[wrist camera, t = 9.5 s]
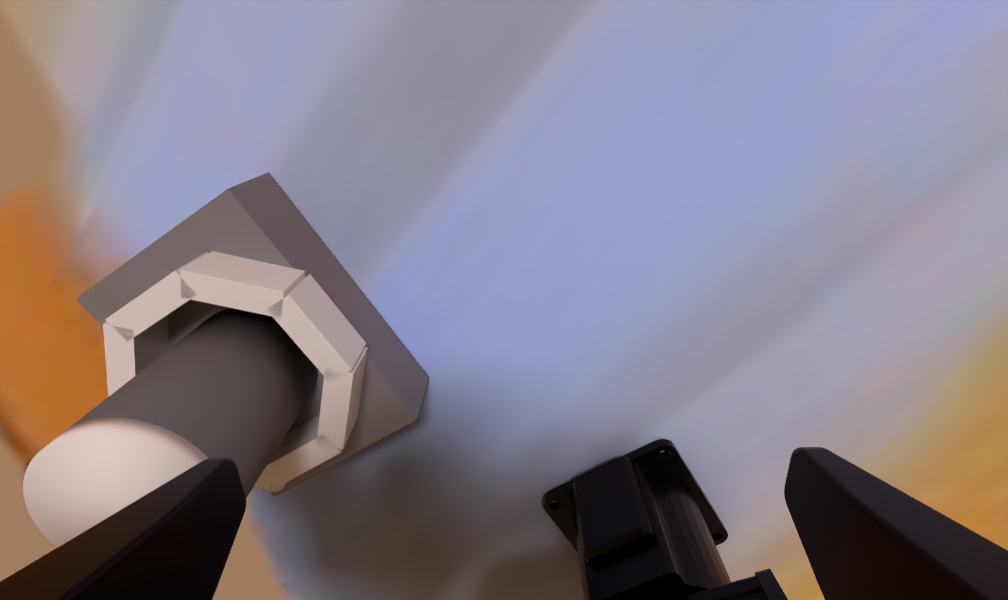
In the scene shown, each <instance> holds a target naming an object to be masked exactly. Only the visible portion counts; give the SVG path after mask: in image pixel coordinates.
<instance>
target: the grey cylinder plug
mask: <svg viewBox="0 0 1008 600" xmlns="http://www.w3.org/2000/svg"><path fill="white" fill-rule="evenodd" d="M317 376H318V369H317V367H316V366H315V365H314V364H313V363H312V362H311V360H310V359H309V358H308V357H307V356H306V355H305V354H304V352H303V351H302V350H301V349H300V348H299V347H298V345H297V344H296V343H295V342H294V341H293V340H292V339H291V337H290V336H289V335H288V334H287V333H286V332H285V331H284V329H283V328H282V327H281V326H280V325H279V324H278V322H277V321H276V320H275V319H274V318H273V317H272V316H268V315H263V314H258V313H253V312H248V311H244V310H239V309H234V308H229V309H225V310H222V311H220V312H217V313H215V314H214V315H212V316H210V317H209V318H208V319H206V320H205V321H204V322H203V323H201V324H200V325H199V326H198V327H196V328H195V329H194V330H193V331H191V332H190V333H189V334H188V335H186V336H185V337H184V338H182V339H181V340H180V341H179V342H177V343H176V344H175V345H174V346H172V347H171V348H170V349H169V350H167V351H166V352H165V353H164V354H162V355H161V356H160V357H158V358H157V359H156V360H155V361H153V362H152V363H151V364H150V365H148V366H147V367H146V368H145V369H143V370H142V371H141V372H139V373H138V374H137V375H136V376H134V377H133V378H132V379H131V380H129V381H128V382H127V383H126V384H124V385H123V386H122V387H121V388H119V389H118V390H117V391H115V392H114V393H113V394H112V395H110V396H109V397H108V398H107V399H105V400H104V401H103V402H102V403H100V404H99V405H98V406H97V407H95V408H94V409H93V410H91V411H90V412H89V413H88V414H86V415H85V416H84V417H83V418H81V419H80V420H79V421H78V422H76V423H75V424H74V425H72V426H71V427H70V428H69V429H67V430H66V431H65V432H64V433H62V434H61V435H60V436H59V437H57V438H56V439H55V440H54V441H52V442H51V443H50V444H48V445H47V446H46V447H45V448H43V449H42V450H41V451H40V452H38V453H37V455H36V456H35V457H34V458H33V459H32V460H31V462H30V464H29V466H28V468H27V470H26V473H25V476H24V483H23V492H24V499H25V503H26V507H27V509H28V511H29V514H30V516H31V518H32V519H33V521H34V523H35V524H36V526H37V527H38V529H39V530H40V531H41V532H42V534H43V535H44V536H45V537H46V538H47V539H48V540H49V541H50V542H51V543H52V544H53V545H54V546H55V547H57V548H58V547H59V546H61V545H63V544H64V543H66V542H68V541H69V540H71V539H73V538H74V537H76V536H78V535H79V534H81V533H83V532H84V531H86V530H88V529H89V528H91V527H93V526H94V525H96V524H98V523H100V522H101V521H103V520H105V519H106V518H108V517H110V516H111V515H113V514H115V513H116V512H118V511H120V510H121V509H123V508H125V507H126V506H128V505H130V504H131V503H133V502H135V501H136V500H138V499H140V498H141V497H143V496H145V495H146V494H148V493H150V492H151V491H153V490H155V489H156V488H158V487H160V486H161V485H163V484H165V483H166V482H168V481H170V480H171V479H173V478H175V477H176V476H178V475H180V474H181V473H183V472H185V471H187V470H188V469H190V468H192V467H193V466H195V465H197V464H198V463H200V462H202V461H203V460H206V459H210V458H230V459H232V460H234V462H235V463H236V465H237V468H238V471H239V475H240V478H241V481H242V485H243V488H244V492H245V496H246V498H247V496H248V494H249V493H250V491H251V490H252V488H253V486H254V485H255V483H256V482H257V480H258V478H259V477H260V475H261V474H262V472H263V471H264V469H265V467H266V466H267V464H268V463H269V461H270V459H271V458H272V456H273V455H274V453H275V451H276V450H277V448H278V447H279V445H280V443H281V442H282V440H283V439H284V437H285V436H286V434H287V432H288V431H289V429H290V428H291V426H292V424H293V423H294V421H295V420H296V418H297V416H298V415H299V413H300V412H301V410H302V408H303V407H304V405H305V404H306V402H307V401H308V399H309V397H310V396H311V394H312V392H313V390H314V388H315V385H316V382H317Z"/></svg>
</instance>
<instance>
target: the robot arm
mask: <svg viewBox="0 0 1008 600" xmlns="http://www.w3.org/2000/svg"><path fill="white" fill-rule="evenodd" d="M663 450H668V451H667V452H666V453H660V452H661V451H663ZM784 494H785V500H786V504H787V507H788V509H789V512H790V514H791V517H792V519H793V522H794V524H795V527H796V529H797V532H798V534H799V537H800V539H801V542H802V544H803V547H804V549H805V552H806V554H807V557H808V559H809V562H810V564H811V567H812V569H813V572H814V574H815V577H816V579H817V582H818V584H819V586H820V589H821V591H822V593H823V596H824V598H825V600H1008V551H1007V550H1006V549H1004V548H1002V547H1000V546H998V545H997V544H995V543H993V542H991V541H990V540H988V539H986V538H984V537H982V536H981V535H979V534H977V533H975V532H973V531H972V530H970V529H968V528H966V527H965V526H963V525H961V524H959V523H957V522H956V521H954V520H952V519H950V518H948V517H947V516H945V515H943V514H941V513H940V512H938V511H936V510H934V509H932V508H931V507H929V506H927V505H925V504H923V503H922V502H920V501H918V500H916V499H914V498H913V497H911V496H909V495H907V494H906V493H904V492H902V491H900V490H898V489H897V488H895V487H893V486H891V485H889V484H888V483H886V482H884V481H882V480H881V479H879V478H877V477H875V476H873V475H872V474H870V473H868V472H866V471H864V470H863V469H861V468H859V467H857V466H856V465H854V464H852V463H850V462H848V461H847V460H845V459H843V458H841V457H839V456H838V455H836V454H834V453H832V452H831V451H829V450H827V449H825V448H822V447H800V448H797V449H795V450H794V451H793V453H792V455H791V459H790V464H789V469H788V473H787V478H786V483H785V489H784ZM553 501H556V502H557V503H551V502H553ZM543 504H544V509H545V510H546V512H547V513H548V514H549V516H550V517H551V518H552V520H553V521H554V522H555V523H556V525H557V526H558V527H559V529H560V530H561V531H562V532H563V534H564V535H565V536H566V538H567V539H568V540H569V542H570V543H571V544H572V545H573V547H574V548H575V549H576V551H577V552H578V555H579V563H580V570H581V578H582V585H583V593H584V600H788V599H787V597H786V595H785V594H784V592H783V590H782V589H781V587H780V585H779V583H778V582H777V580H776V578H775V577H774V575H773V573H772V571H771V570H770V569H766V570H763V571H759V572H756V573H755V576H753V577H749V578H745V579H742V580H738V581H735V582H731V580H730V578H729V576H728V573H727V571H726V569H725V566H724V564H723V562H722V559H721V557H720V555H719V552H718V550H717V548H716V545H718V544H721V543H723V542H724V541H725V540H726V539H727V537H728V534H727V531H726V529H725V527H724V525H723V523H722V522H721V520H720V518H719V517H718V515H717V514H716V512H715V510H714V509H713V507H712V506H711V504H710V502H709V501H708V499H707V497H706V496H705V494H704V493H703V491H702V489H701V488H700V486H699V484H698V483H697V481H696V480H695V478H694V476H693V475H692V473H691V472H690V470H689V468H688V467H687V465H686V463H685V462H684V460H683V459H682V457H681V455H680V454H679V452H678V450H677V449H676V447H675V446H674V444H673V443H672V442H671V441H669V440H666V439H662V440H658V441H656V442H654V443H652V444H650V445H647V446H645V447H643V448H641V449H639V450H637V451H635V452H633V453H630V454H628V455H626V456H624V457H622V458H620V459H618V460H615V461H613V462H611V463H609V464H607V465H605V466H603V467H601V468H598V469H596V470H594V471H592V472H590V473H588V474H586V475H583V476H581V477H579V478H577V479H575V480H573V481H571V482H569V483H566V484H564V485H562V486H560V487H558V488H556V489H554V490H552V491H549V492H548V493H546V494H545V496H544V497H543ZM245 508H246V496H245V492H244V488H243V485H242V481H241V478H240V475H239V471H238V468H237V465H236V463H235V462H234V460H232V459H230V458H210V459H206V460H203V461H202V462H200V463H198V464H197V465H195V466H193V467H192V468H190V469H188V470H187V471H185V472H183V473H181V474H180V475H178V476H176V477H175V478H173V479H171V480H170V481H168V482H166V483H165V484H163V485H161V486H160V487H158V488H156V489H155V490H153V491H151V492H150V493H148V494H146V495H145V496H143V497H141V498H140V499H138V500H136V501H135V502H133V503H131V504H130V505H128V506H126V507H125V508H123V509H121V510H120V511H118V512H116V513H115V514H113V515H111V516H110V517H108V518H106V519H105V520H103V521H101V522H100V523H98V524H96V525H94V526H93V527H91V528H89V529H88V530H86V531H84V532H83V533H81V534H79V535H78V536H76V537H74V538H73V539H71V540H69V541H68V542H66V543H64V544H63V545H61V546H59V547H58V548H56V549H54V550H53V551H51V552H49V553H48V554H46V555H44V556H43V557H41V558H39V559H38V560H36V561H34V562H33V563H31V564H29V565H28V566H26V567H24V568H23V569H21V570H19V571H18V572H16V573H14V574H13V575H11V576H9V577H7V578H6V579H4V580H2V581H1V582H0V600H212V598H213V596H214V593H215V591H216V588H217V586H218V583H219V580H220V577H221V575H222V572H223V570H224V567H225V564H226V561H227V559H228V556H229V553H230V551H231V548H232V545H233V542H234V540H235V537H236V534H237V531H238V529H239V526H240V523H241V521H242V518H243V515H244V512H245ZM716 532H717V533H716ZM714 533H715V534H714Z"/></svg>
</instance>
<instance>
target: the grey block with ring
mask: <svg viewBox="0 0 1008 600" xmlns="http://www.w3.org/2000/svg"><path fill="white" fill-rule="evenodd" d="M76 300H77V301H78V302H79V303H80V304H81V305H82V306H83V307H84V308H85V309H86V310H87V311H88V312H89V313H90V314H91V315H92V316H94V317H95V318H96V319H97V320H98V321H99V322H100V323H101V324H102V325H103V330H104V343H105V357H106V371H107V384H108V397H109V396H110V395H112V394H113V393H114V392H115V391H117V390H118V389H119V388H121V387H122V386H123V385H124V384H126V383H127V382H128V381H129V380H131V379H132V378H133V377H134V376H136V375H137V374H138V373H139V372H141V371H142V370H143V369H145V368H146V367H147V366H148V365H150V364H151V363H152V362H153V361H155V360H156V359H157V358H158V357H160V356H161V355H162V354H164V353H165V352H166V351H167V350H169V349H170V348H171V347H172V346H174V345H175V344H176V343H177V342H179V341H180V340H181V339H182V338H184V337H185V336H186V335H188V334H189V333H190V332H191V331H193V330H194V329H195V328H196V327H198V326H199V325H200V324H201V323H203V322H204V321H205V320H206V319H208V318H209V317H210V316H212V315H214V314H215V313H217V312H220V311H222V310H225V309H229V308H234V309H239V310H244V311H248V312H253V313H258V314H263V315H268V316H272V317H273V318H274V319H275V320H276V321H277V322H278V324H279V325H280V326H281V327H282V328H283V329H284V331H285V332H286V333H287V334H288V335H289V336H290V337H291V339H292V340H293V341H294V342H295V343H296V344H297V345H298V347H299V348H300V349H301V350H302V351H303V352H304V354H305V355H306V356H307V357H308V358H309V359H310V360H311V362H312V363H313V364H314V365H315V366H316V367H317V369H318V376H317V382H316V385H315V388H314V390H313V392H312V394H311V396H310V397H309V399H308V401H307V402H306V404H305V405H304V407H303V408H302V410H301V412H300V413H299V415H298V416H297V418H296V420H295V421H294V423H293V424H292V426H291V428H290V429H289V431H288V432H287V434H286V436H285V437H284V439H283V440H282V442H281V443H280V445H279V447H278V448H277V450H276V451H275V453H274V455H273V456H272V458H271V459H270V461H269V463H268V464H267V466H266V467H265V469H264V471H263V472H262V474H261V475H260V477H259V478H258V480H257V482H256V483H255V485H254V487H259V488H261V489H263V490H265V491H269V492H271V493H272V494H273V495H274V496H276V495H278V494H280V493H282V492H283V491H285V490H287V489H289V488H291V487H293V486H295V485H296V484H298V483H300V482H302V481H304V480H306V479H308V478H310V477H311V476H313V475H315V474H317V473H319V472H321V471H323V470H324V469H326V468H328V467H330V466H332V465H334V464H336V463H337V462H339V461H341V460H343V459H345V458H347V457H349V456H350V455H352V454H354V453H356V452H358V451H360V450H362V449H364V448H365V447H367V446H369V445H371V444H373V443H375V442H377V441H378V440H380V439H382V438H384V437H386V436H388V435H390V434H391V433H393V432H395V431H397V430H399V429H401V428H403V427H404V426H406V425H408V424H410V423H412V422H414V421H416V420H417V419H418V415H419V412H420V408H421V405H422V401H423V397H424V394H425V390H426V387H427V383H428V380H429V376H428V375H427V374H426V372H425V371H424V370H423V369H422V367H421V366H420V365H419V363H418V362H417V361H416V360H415V358H414V357H413V356H412V355H411V353H410V352H409V351H408V349H407V348H406V347H405V346H404V344H403V343H402V342H401V340H400V339H399V338H398V337H397V335H396V334H395V333H394V332H393V330H392V329H391V328H390V326H389V325H388V324H387V323H386V321H385V320H384V319H383V318H382V316H381V315H380V314H379V312H378V311H377V310H376V309H375V307H374V306H373V305H372V303H371V302H370V301H369V300H368V298H367V297H366V296H365V295H364V293H363V292H362V291H361V289H360V288H359V287H358V286H357V284H356V283H355V282H354V280H353V279H352V278H351V277H350V275H349V274H348V273H347V272H346V270H345V269H344V268H343V266H342V265H341V264H340V263H339V261H338V260H337V259H336V257H335V256H334V255H333V254H332V252H331V251H330V250H329V249H328V247H327V246H326V245H325V243H324V242H323V241H322V240H321V238H320V237H319V236H318V234H317V233H316V232H315V231H314V229H313V228H312V227H311V226H310V224H309V223H308V222H307V220H306V219H305V218H304V217H303V215H302V214H301V213H300V211H299V210H298V209H297V208H296V206H295V205H294V204H293V203H292V201H291V200H290V199H289V197H288V196H287V195H286V194H285V192H284V191H283V190H282V188H281V187H280V186H279V185H278V183H277V182H276V181H275V180H274V178H273V177H272V176H271V174H270V173H266V174H264V175H261V176H259V177H256V178H254V179H251V180H249V181H246V182H244V183H241V184H239V185H236V186H234V187H231V188H229V189H227V190H226V191H224V192H223V193H221V194H220V195H219V196H217V197H216V198H214V199H213V200H212V201H210V202H209V203H208V204H206V205H205V206H203V207H202V208H201V209H199V210H198V211H197V212H195V213H194V214H192V215H191V216H190V217H188V218H187V219H185V220H184V221H183V222H181V223H180V224H179V225H177V226H176V227H174V228H173V229H172V230H170V231H169V232H168V233H166V234H165V235H163V236H162V237H161V238H159V239H158V240H157V241H155V242H154V243H152V244H151V245H150V246H148V247H147V248H145V249H144V250H143V251H141V252H140V253H139V254H137V255H136V256H134V257H133V258H132V259H130V260H129V261H128V262H126V263H125V264H123V265H122V266H121V267H119V268H118V269H116V270H115V271H114V272H112V273H111V274H110V275H108V276H107V277H105V278H104V279H103V280H101V281H100V282H99V283H97V284H96V285H94V286H93V287H92V288H90V289H89V290H87V291H86V292H85V293H83V294H82V295H81V296H79V297H78V298H76Z"/></svg>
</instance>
